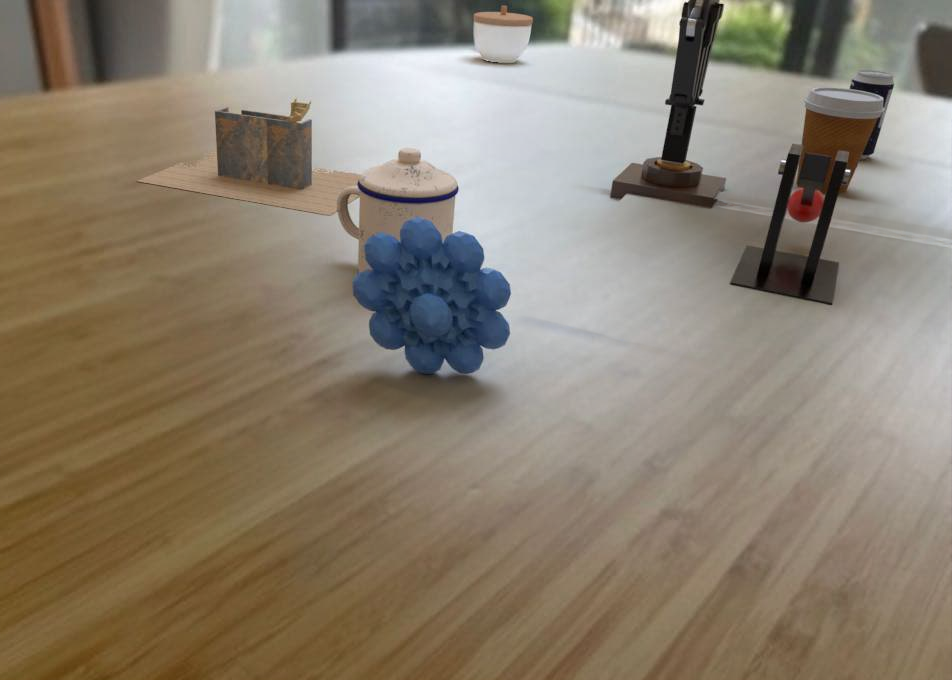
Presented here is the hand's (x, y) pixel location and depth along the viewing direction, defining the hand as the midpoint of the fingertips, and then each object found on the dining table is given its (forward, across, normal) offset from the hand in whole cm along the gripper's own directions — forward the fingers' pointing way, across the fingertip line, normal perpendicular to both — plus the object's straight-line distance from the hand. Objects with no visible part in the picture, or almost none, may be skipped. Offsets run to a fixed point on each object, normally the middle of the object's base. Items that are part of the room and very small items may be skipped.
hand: (673, 160), depth 110 cm
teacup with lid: (+5, +41, -18) cm, 45 cm away
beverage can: (+5, -39, +20) cm, 44 cm away
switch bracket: (+5, +23, +16) cm, 28 cm away
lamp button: (+2, 0, 0) cm, 2 cm away
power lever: (-2, +19, +16) cm, 25 cm away
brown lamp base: (+5, 0, 0) cm, 5 cm away
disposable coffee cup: (+5, -17, +17) cm, 25 cm away
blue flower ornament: (+5, +59, -6) cm, 59 cm away
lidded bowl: (+5, -82, -53) cm, 98 cm away
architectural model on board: (+5, +23, -44) cm, 50 cm away
